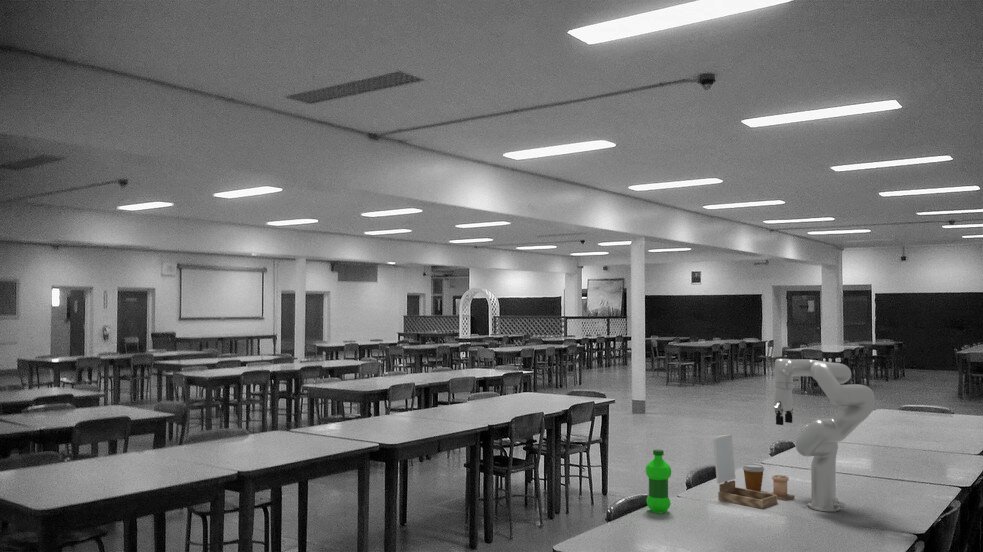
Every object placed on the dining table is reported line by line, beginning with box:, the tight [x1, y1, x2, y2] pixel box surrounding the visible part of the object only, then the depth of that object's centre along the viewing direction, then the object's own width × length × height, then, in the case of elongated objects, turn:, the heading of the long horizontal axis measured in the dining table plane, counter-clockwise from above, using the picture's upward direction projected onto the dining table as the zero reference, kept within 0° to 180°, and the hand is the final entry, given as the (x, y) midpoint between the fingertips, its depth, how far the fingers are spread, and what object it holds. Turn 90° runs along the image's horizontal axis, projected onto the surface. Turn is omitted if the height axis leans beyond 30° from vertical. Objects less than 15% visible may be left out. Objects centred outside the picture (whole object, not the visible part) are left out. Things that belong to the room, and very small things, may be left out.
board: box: [769, 491, 795, 502], centre depth 331 cm, size 9×9×2 cm
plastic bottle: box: [645, 448, 672, 514], centre depth 308 cm, size 10×10×25 cm
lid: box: [712, 433, 736, 484], centre depth 331 cm, size 20×15×1 cm
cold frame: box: [717, 480, 778, 510], centre depth 324 cm, size 22×14×20 cm, turn 44°
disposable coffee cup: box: [742, 463, 765, 492], centre depth 343 cm, size 10×10×12 cm
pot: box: [771, 474, 790, 497], centre depth 331 cm, size 7×7×8 cm
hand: (784, 423), depth 339 cm, fingers open, 9 cm apart
